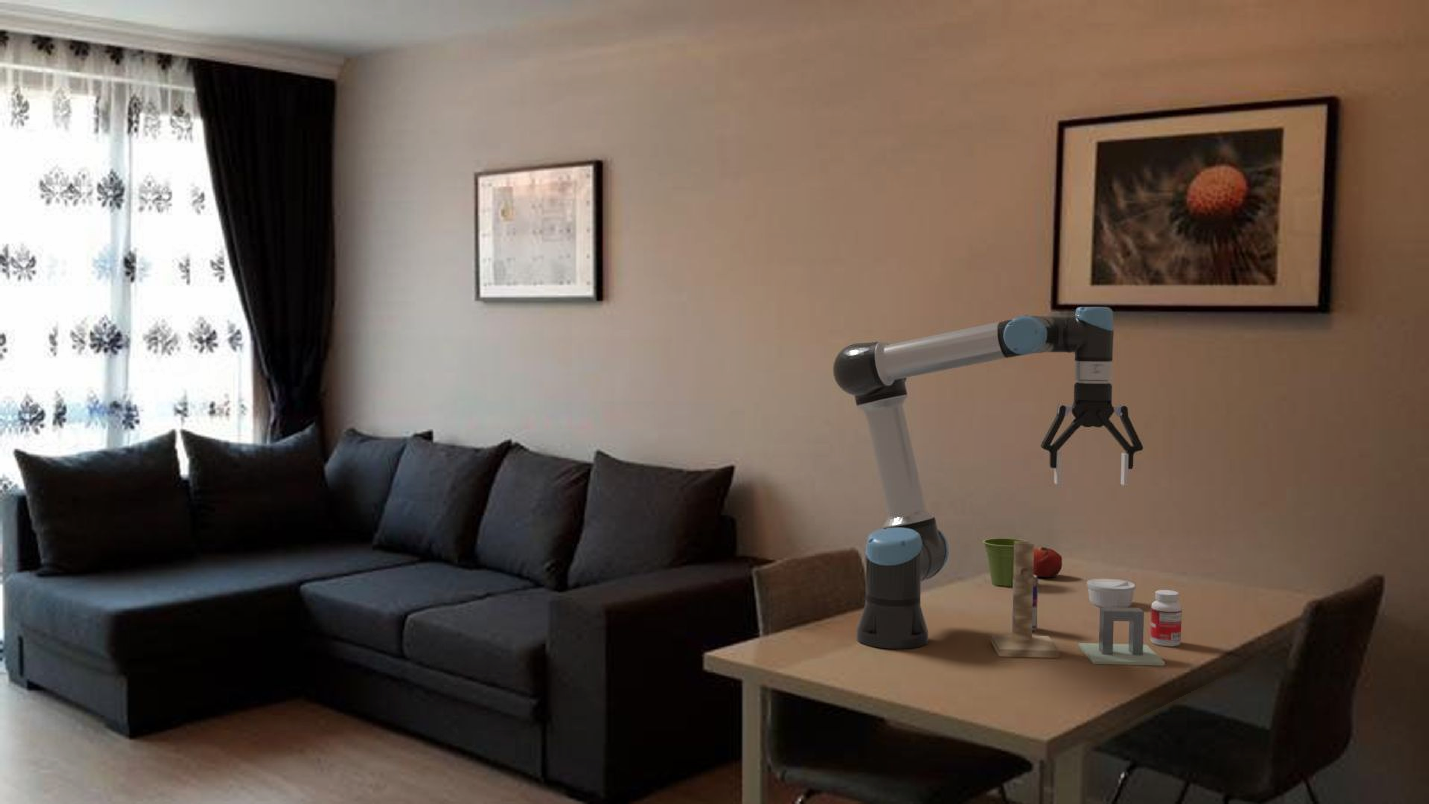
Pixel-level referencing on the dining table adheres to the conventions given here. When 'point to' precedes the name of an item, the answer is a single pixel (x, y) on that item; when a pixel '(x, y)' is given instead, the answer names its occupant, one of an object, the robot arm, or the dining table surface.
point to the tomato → (1046, 562)
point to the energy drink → (1034, 612)
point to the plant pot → (1001, 560)
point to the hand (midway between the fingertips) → (1090, 484)
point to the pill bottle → (1166, 619)
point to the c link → (1135, 628)
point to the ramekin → (1110, 592)
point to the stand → (1023, 612)
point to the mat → (1121, 655)
